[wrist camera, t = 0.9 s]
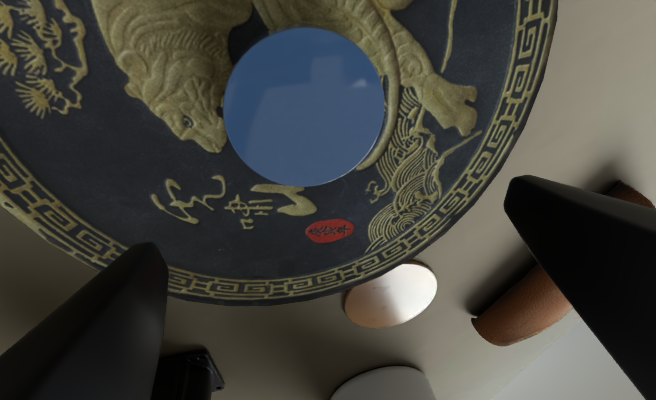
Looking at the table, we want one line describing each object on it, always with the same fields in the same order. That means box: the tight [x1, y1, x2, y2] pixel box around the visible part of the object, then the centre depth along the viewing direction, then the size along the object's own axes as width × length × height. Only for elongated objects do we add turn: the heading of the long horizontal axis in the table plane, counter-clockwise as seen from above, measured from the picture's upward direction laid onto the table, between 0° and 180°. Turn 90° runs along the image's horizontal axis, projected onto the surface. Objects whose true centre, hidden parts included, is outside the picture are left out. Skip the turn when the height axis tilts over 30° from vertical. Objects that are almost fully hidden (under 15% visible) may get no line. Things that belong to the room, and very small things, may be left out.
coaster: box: [344, 261, 437, 328], centre depth 29 cm, size 9×9×1 cm
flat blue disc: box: [223, 23, 385, 187], centre depth 15 cm, size 7×7×2 cm
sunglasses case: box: [471, 180, 656, 346], centre depth 29 cm, size 18×7×7 cm, turn 151°
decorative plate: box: [0, 0, 558, 306], centre depth 17 cm, size 30×2×30 cm
